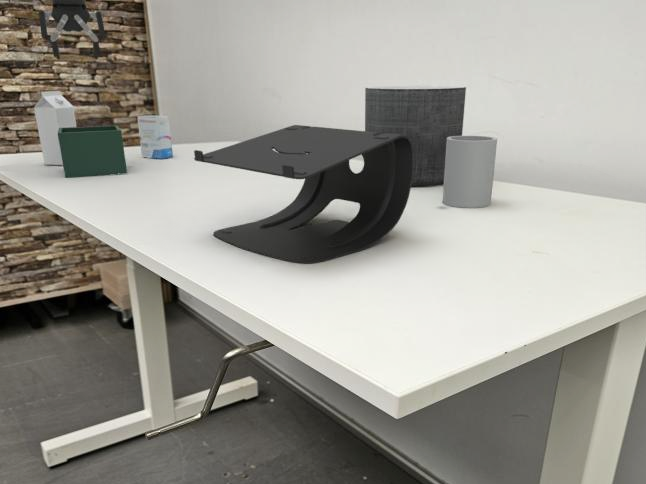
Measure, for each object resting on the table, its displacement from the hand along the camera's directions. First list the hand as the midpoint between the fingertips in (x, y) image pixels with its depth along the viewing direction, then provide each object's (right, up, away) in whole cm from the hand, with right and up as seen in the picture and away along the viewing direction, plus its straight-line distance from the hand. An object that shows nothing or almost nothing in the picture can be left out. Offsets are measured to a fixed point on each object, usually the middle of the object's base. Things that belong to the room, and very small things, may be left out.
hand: (77, 59), depth 146 cm
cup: (+87, -41, -29) cm, 101 cm away
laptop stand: (+57, -50, -51) cm, 91 cm away
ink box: (+10, -15, +34) cm, 38 cm away
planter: (+80, -30, -4) cm, 86 cm away
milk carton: (-13, -19, +23) cm, 33 cm away
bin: (0, -24, +10) cm, 27 cm away
